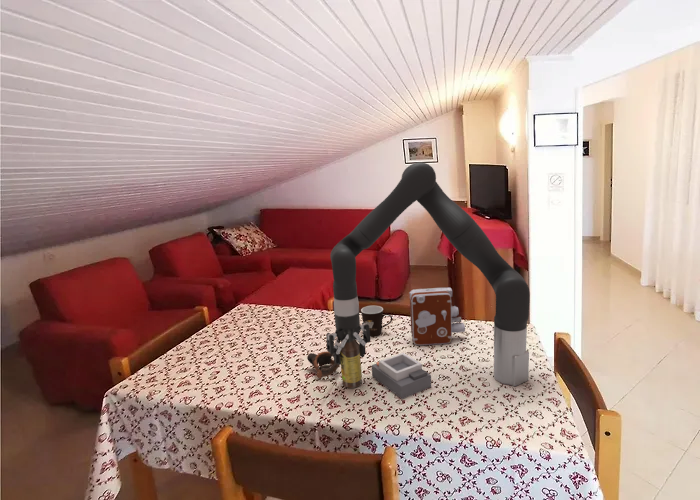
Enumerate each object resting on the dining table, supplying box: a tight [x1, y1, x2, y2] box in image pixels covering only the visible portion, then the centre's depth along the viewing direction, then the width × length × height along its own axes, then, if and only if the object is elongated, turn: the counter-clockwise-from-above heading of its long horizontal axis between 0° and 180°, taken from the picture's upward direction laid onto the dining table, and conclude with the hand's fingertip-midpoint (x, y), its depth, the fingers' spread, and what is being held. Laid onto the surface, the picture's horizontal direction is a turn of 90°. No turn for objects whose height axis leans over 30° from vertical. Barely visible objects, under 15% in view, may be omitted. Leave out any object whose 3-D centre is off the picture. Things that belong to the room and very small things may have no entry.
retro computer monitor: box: [371, 352, 432, 400], centre depth 140 cm, size 16×11×6 cm
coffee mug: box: [360, 305, 393, 338], centre depth 174 cm, size 12×9×10 cm
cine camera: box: [408, 287, 466, 346], centre depth 164 cm, size 9×19×20 cm, turn 89°
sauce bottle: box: [340, 328, 363, 389], centre depth 139 cm, size 6×6×20 cm
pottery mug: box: [306, 350, 341, 380], centre depth 149 cm, size 12×10×8 cm
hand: (350, 359), depth 139 cm, fingers open, 8 cm apart
